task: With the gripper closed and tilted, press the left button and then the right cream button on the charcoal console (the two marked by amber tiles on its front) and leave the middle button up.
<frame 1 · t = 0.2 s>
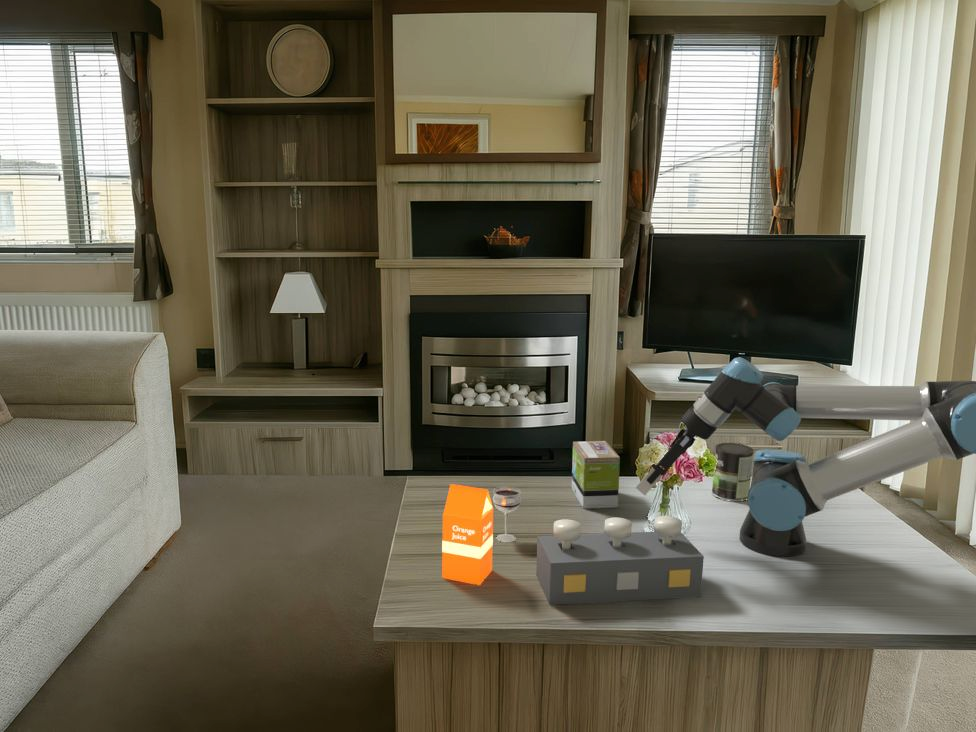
hand: (645, 482, 179), 16 cm above the table, tool tilted 35°, fingers open, 13 cm apart
button 1: (566, 541, 158), point 10 cm above the table, slide at 0.0 cm
coffee can: (730, 496, 215), on the table
button console: (616, 585, 161), on the table
tea box: (593, 499, 211), on the table
button 2: (667, 537, 161), point 10 cm above the table, slide at 0.0 cm
orange juice: (467, 574, 165), on the table
middle button: (617, 539, 160), point 10 cm above the table, slide at 0.0 cm
wineglass: (505, 538, 184), on the table
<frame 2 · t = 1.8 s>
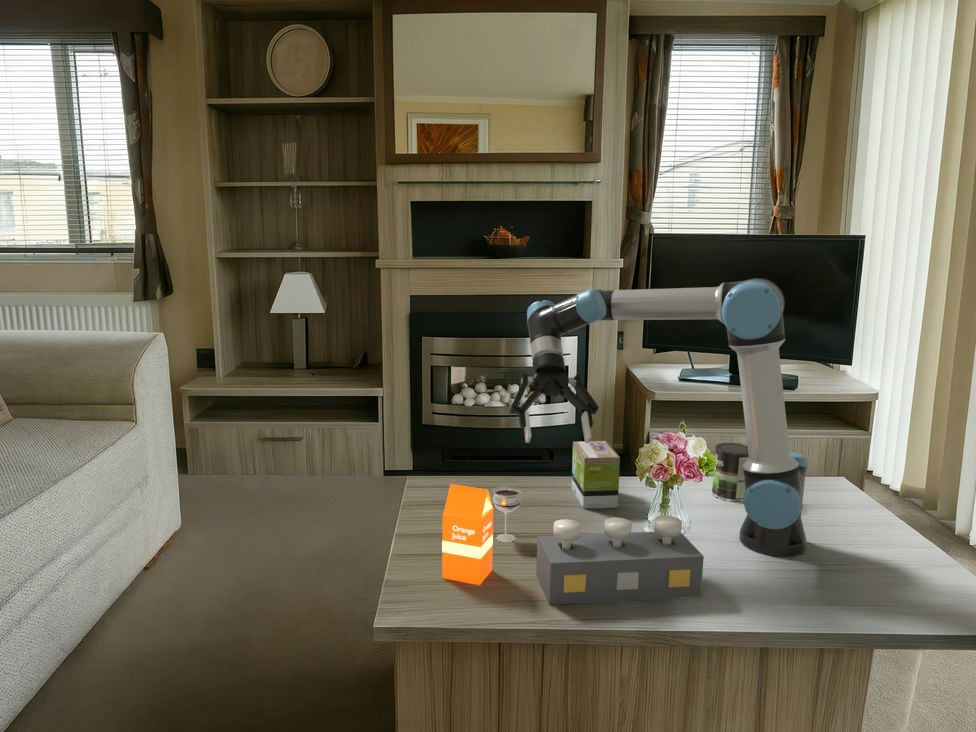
hand: (558, 440, 168), 28 cm above the table, tool tilted 45°, fingers open, 13 cm apart
nothing on the table moved.
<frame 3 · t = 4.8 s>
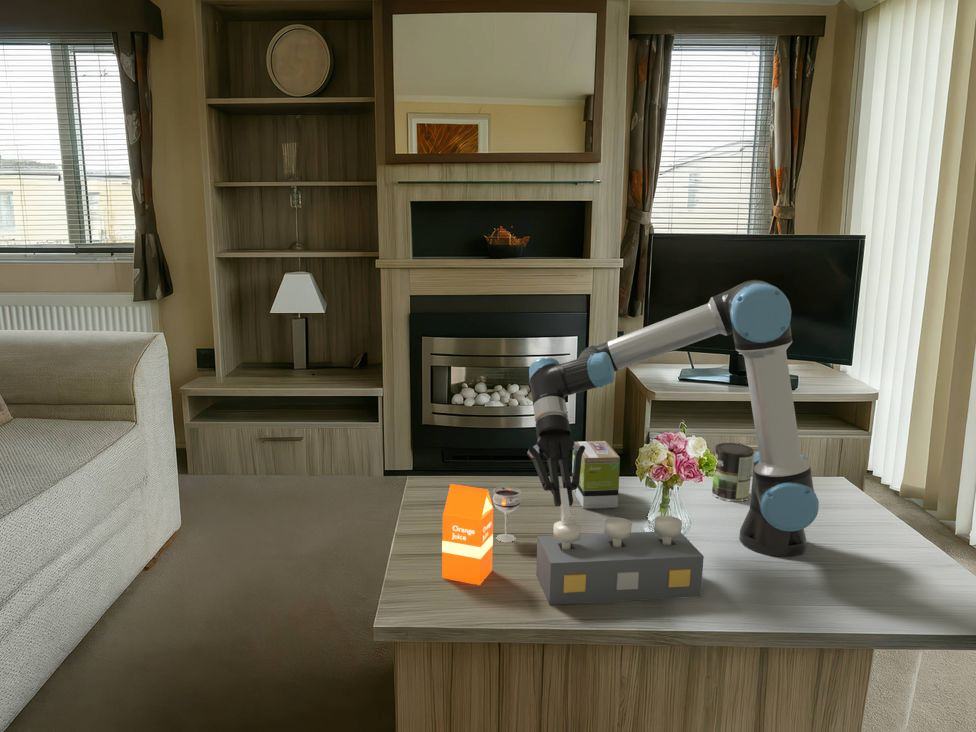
hand: (566, 519, 158), 15 cm above the table, tool tilted 45°, fingers closed
button 1: (566, 542, 158), point 10 cm above the table, slide at 0.3 cm, touching gripper
everything else where it was.
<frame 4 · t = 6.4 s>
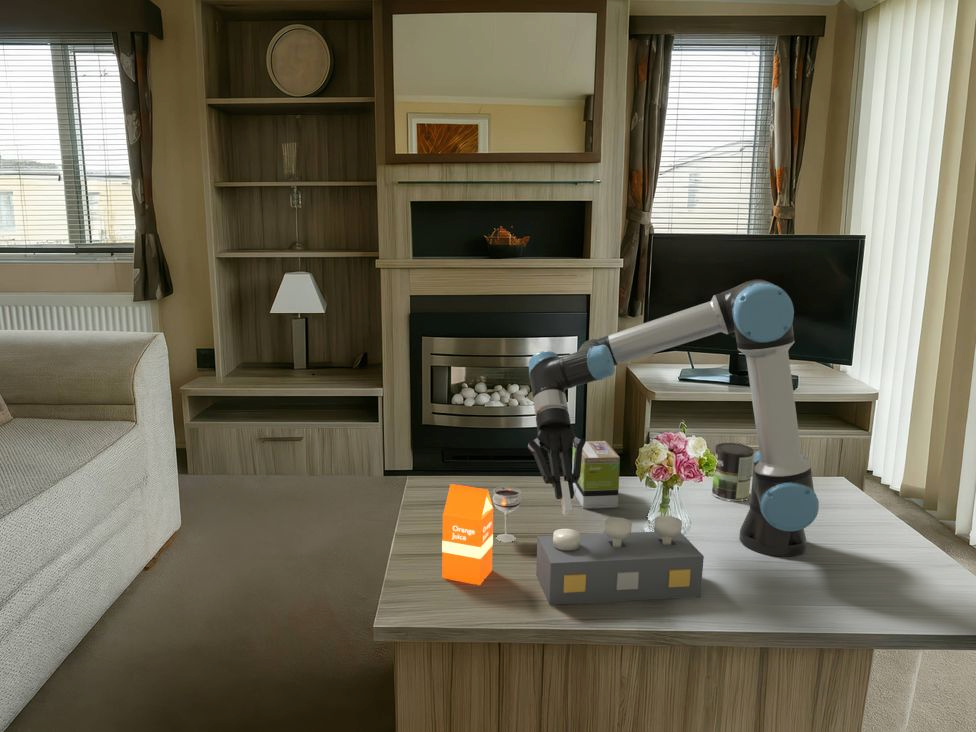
hand: (567, 512, 157), 16 cm above the table, tool tilted 45°, fingers closed
button 1: (566, 550, 159), point 8 cm above the table, slide at 2.1 cm
everything else where it was.
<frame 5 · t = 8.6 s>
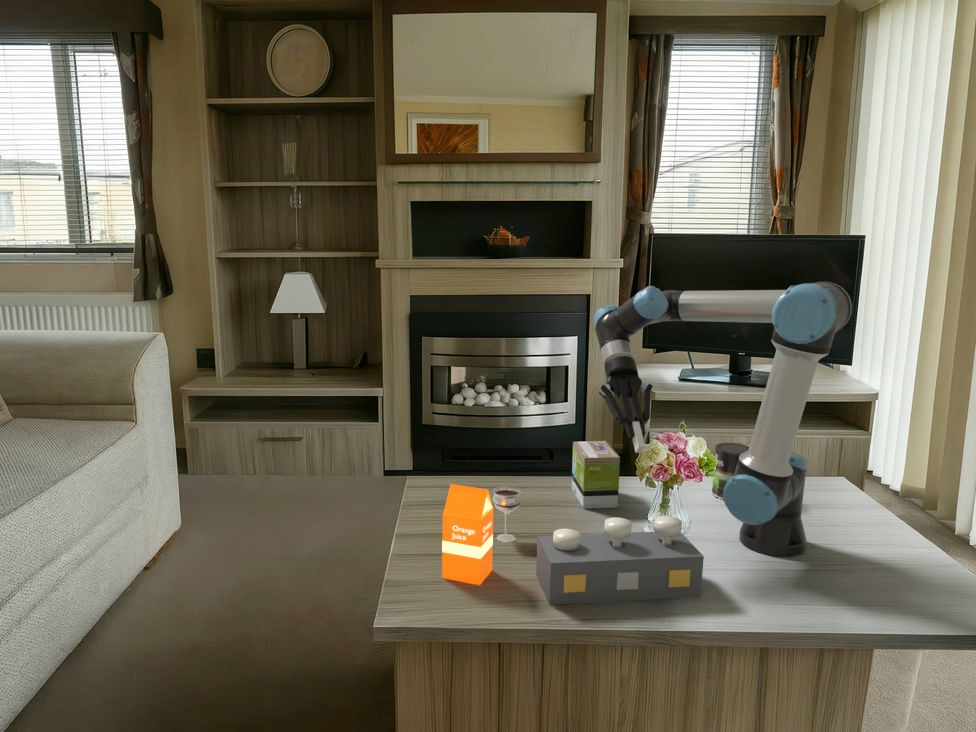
hand: (640, 449, 170), 26 cm above the table, tool tilted 45°, fingers closed
nothing on the table moved.
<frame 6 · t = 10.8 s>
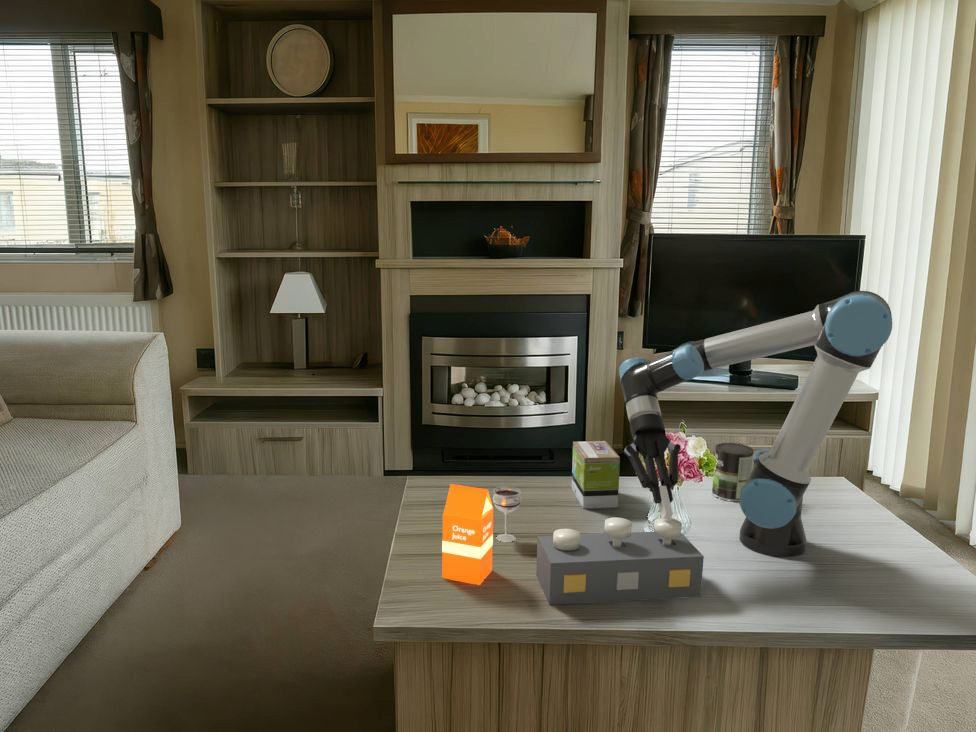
hand: (667, 516, 161), 15 cm above the table, tool tilted 45°, fingers closed
button 2: (667, 539, 161), point 10 cm above the table, slide at 0.5 cm, touching gripper
everything else where it was.
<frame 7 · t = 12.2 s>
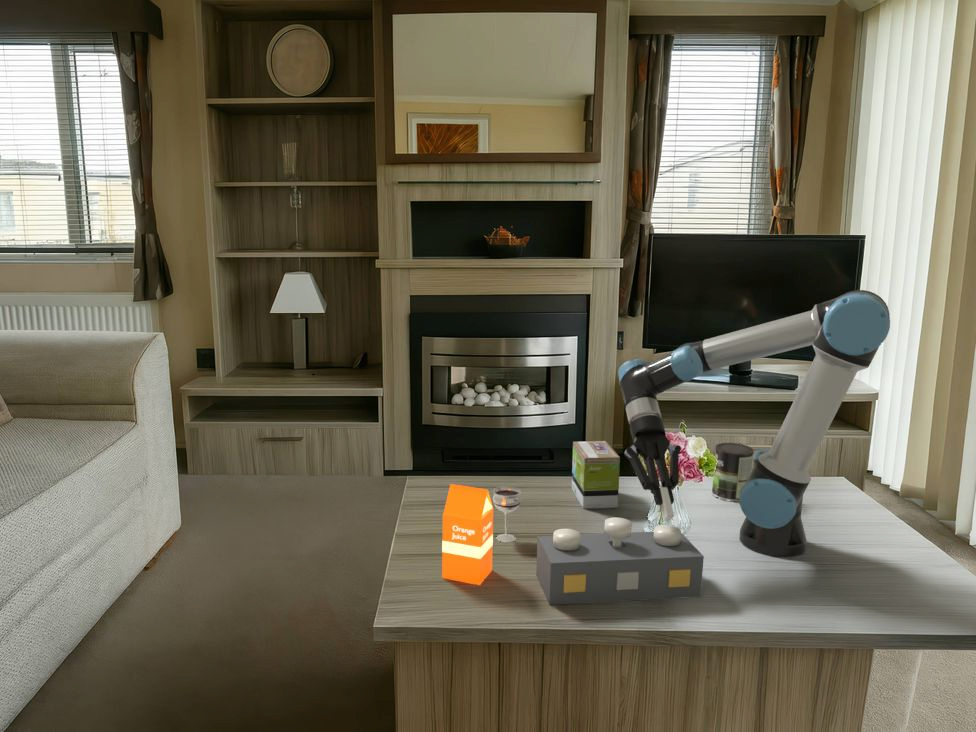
hand: (668, 518, 161), 14 cm above the table, tool tilted 45°, fingers closed
button 2: (666, 546, 162), point 8 cm above the table, slide at 2.1 cm
everything else where it was.
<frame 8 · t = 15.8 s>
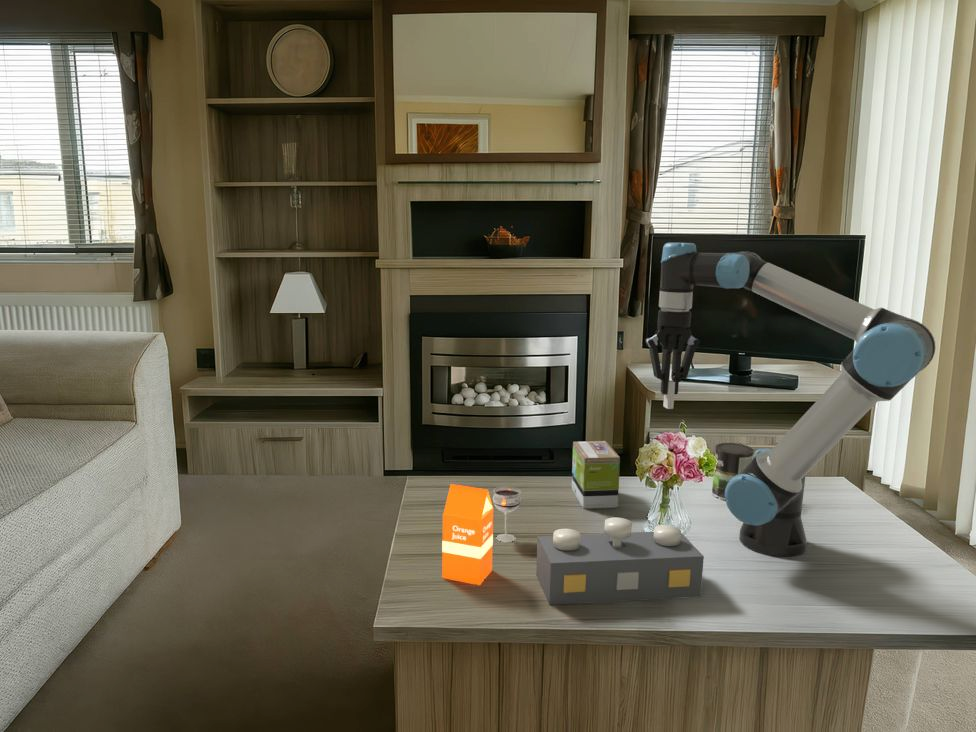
hand: (668, 407, 181), 32 cm above the table, tool pointing down, fingers closed
nothing on the table moved.
at the end: button 1 slide at 2.1 cm; button 2 slide at 2.1 cm; middle button slide at 0.0 cm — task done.
